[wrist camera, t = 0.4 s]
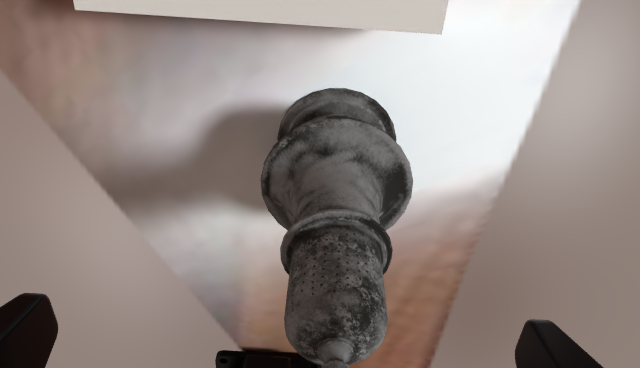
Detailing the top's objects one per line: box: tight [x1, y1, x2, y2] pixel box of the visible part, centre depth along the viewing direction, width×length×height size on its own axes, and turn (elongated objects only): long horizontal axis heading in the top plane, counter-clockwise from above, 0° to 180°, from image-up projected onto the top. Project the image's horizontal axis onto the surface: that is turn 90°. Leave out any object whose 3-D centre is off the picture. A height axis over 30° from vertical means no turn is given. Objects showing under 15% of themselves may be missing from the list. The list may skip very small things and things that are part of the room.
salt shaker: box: [261, 88, 413, 368], centre depth 17 cm, size 6×6×12 cm
